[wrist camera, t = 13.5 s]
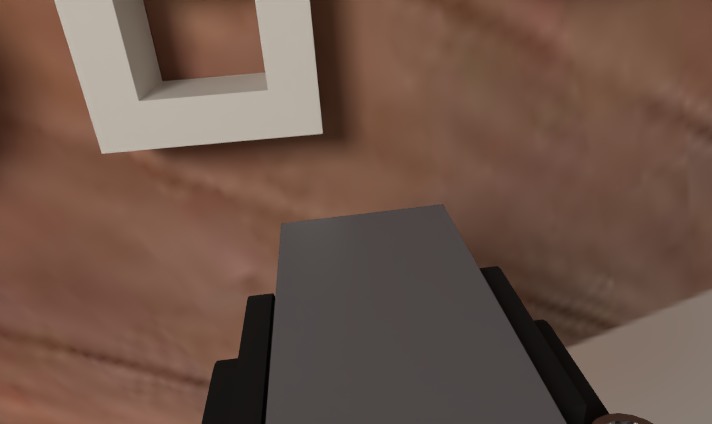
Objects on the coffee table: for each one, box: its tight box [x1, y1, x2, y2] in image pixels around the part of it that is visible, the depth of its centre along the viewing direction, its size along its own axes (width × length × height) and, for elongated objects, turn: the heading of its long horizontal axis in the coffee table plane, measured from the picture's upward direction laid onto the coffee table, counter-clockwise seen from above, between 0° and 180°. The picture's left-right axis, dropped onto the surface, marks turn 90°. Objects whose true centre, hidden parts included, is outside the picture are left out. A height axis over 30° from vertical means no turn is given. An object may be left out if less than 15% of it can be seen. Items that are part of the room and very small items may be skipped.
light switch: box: [54, 0, 323, 154], centre depth 23 cm, size 10×10×4 cm
